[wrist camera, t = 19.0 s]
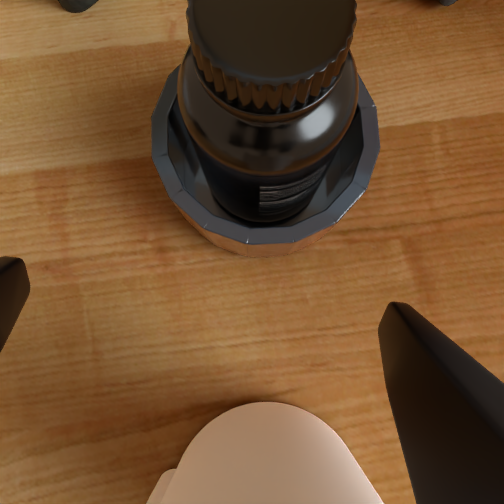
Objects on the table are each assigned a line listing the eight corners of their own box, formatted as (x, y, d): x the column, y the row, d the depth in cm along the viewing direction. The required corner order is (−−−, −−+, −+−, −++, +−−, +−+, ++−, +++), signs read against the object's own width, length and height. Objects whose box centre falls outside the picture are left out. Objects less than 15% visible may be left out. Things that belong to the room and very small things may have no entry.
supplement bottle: (330, 125, 22) (417, -76, 11) (309, 235, 22) (380, 149, 10) (218, 103, 23) (180, -118, 11) (192, 211, 22) (121, 99, 10)
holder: (387, 163, 23) (425, 124, 18) (268, 296, 22) (273, 293, 17) (256, 54, 24) (257, -13, 19) (136, 174, 23) (103, 138, 18)
